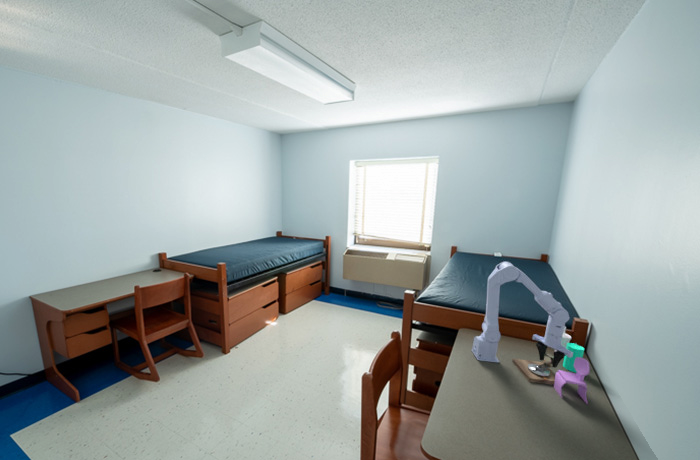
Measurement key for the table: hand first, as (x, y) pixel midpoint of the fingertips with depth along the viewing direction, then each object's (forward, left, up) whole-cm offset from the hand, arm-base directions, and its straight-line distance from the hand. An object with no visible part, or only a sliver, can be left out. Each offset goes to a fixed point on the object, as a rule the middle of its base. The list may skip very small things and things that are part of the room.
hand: (548, 363), depth 115 cm
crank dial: (-4, -2, -2) cm, 5 cm away
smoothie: (+16, +17, -4) cm, 24 cm away
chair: (0, -14, -4) cm, 14 cm away
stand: (-6, -2, -4) cm, 7 cm away
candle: (+13, +5, -4) cm, 15 cm away
